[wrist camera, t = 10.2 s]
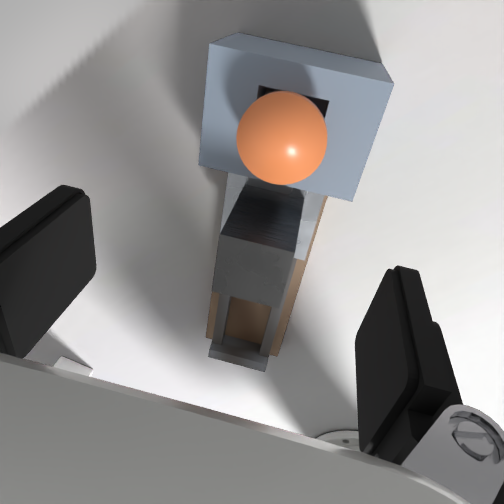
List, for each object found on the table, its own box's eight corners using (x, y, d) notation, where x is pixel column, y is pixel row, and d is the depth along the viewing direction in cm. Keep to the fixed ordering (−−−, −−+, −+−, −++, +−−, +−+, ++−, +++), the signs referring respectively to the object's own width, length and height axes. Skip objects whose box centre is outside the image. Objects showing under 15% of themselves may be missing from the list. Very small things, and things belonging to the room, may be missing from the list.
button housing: (382, 63, 26) (394, 83, 20) (349, 161, 30) (352, 201, 24) (237, 32, 26) (209, 43, 21) (225, 132, 30) (198, 165, 25)
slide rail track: (337, 158, 30) (336, 178, 27) (279, 345, 43) (274, 374, 39) (237, 135, 30) (225, 152, 27) (209, 327, 43) (198, 354, 40)
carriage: (326, 177, 29) (321, 246, 21) (307, 242, 33) (296, 322, 25) (237, 156, 30) (198, 216, 22) (227, 222, 33) (191, 295, 25)
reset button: (339, 89, 22) (338, 106, 19) (317, 168, 25) (313, 193, 22) (257, 72, 22) (243, 84, 19) (244, 151, 25) (230, 173, 22)
